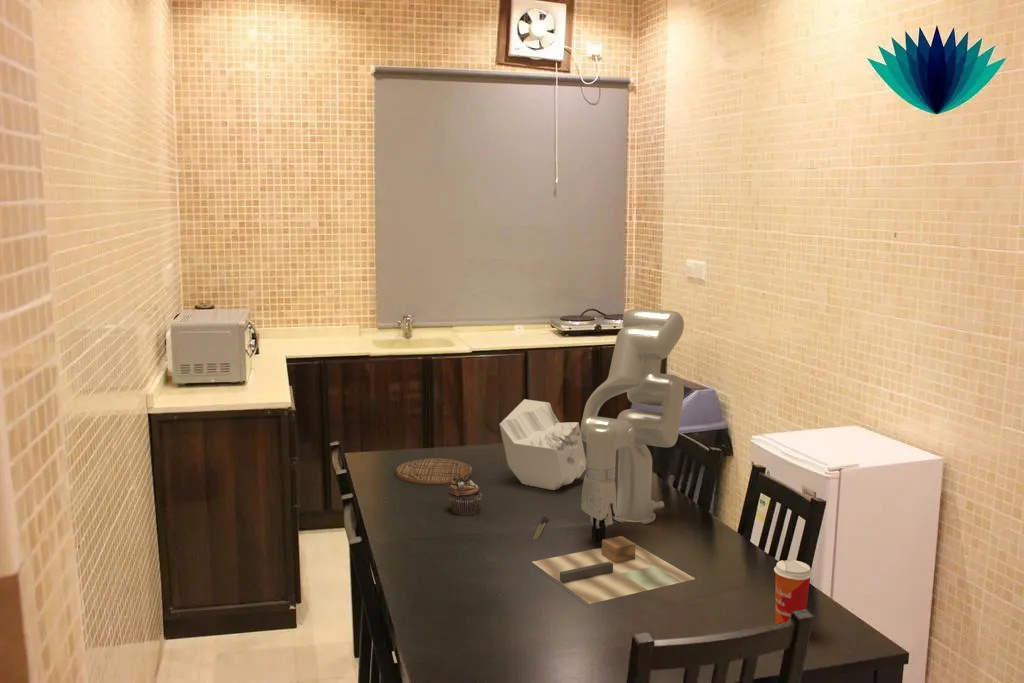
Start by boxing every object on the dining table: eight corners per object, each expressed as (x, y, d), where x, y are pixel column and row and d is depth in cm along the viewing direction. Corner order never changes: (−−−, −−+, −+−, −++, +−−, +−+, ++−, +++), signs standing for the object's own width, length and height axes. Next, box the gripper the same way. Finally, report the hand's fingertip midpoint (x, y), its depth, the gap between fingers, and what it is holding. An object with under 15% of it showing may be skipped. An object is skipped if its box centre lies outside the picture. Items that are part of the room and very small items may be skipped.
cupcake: (462, 519, 249) (462, 485, 248) (442, 510, 256) (442, 476, 255) (488, 511, 255) (489, 478, 254) (467, 503, 263) (468, 470, 261)
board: (631, 545, 231) (631, 541, 231) (695, 582, 209) (695, 578, 209) (531, 565, 217) (531, 561, 217) (589, 608, 195) (589, 603, 195)
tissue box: (591, 472, 285) (579, 406, 275) (568, 501, 273) (555, 433, 263) (537, 462, 296) (524, 398, 285) (513, 490, 284) (499, 424, 274)
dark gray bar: (609, 569, 213) (609, 561, 213) (612, 571, 212) (613, 563, 211) (559, 580, 206) (560, 572, 206) (563, 582, 205) (563, 574, 205)
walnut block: (621, 550, 225) (621, 536, 224) (635, 559, 220) (635, 544, 219) (601, 554, 222) (602, 539, 222) (615, 563, 217) (615, 548, 216)
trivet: (469, 487, 278) (469, 481, 278) (391, 485, 279) (391, 480, 278) (474, 464, 303) (474, 459, 303) (401, 463, 303) (401, 457, 303)
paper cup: (765, 620, 190) (768, 559, 188) (799, 619, 191) (803, 558, 189) (778, 638, 182) (783, 574, 180) (814, 637, 183) (819, 573, 181)
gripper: (572, 466, 231) (570, 533, 233) (604, 482, 218) (602, 553, 220) (596, 463, 234) (594, 529, 237) (629, 478, 221) (626, 548, 224)
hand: (598, 540), depth 228 cm, fingers closed
